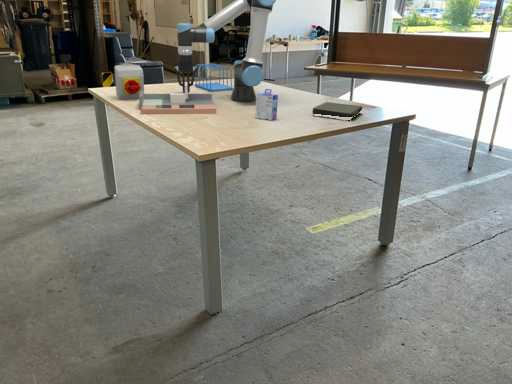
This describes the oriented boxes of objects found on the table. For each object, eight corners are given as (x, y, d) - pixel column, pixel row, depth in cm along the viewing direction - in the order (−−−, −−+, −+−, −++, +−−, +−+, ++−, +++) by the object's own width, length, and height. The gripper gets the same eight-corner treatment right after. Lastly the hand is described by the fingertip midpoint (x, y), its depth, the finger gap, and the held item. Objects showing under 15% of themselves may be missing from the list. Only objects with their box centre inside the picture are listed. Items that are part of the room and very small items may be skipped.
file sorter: (194, 86, 305) (193, 64, 299) (216, 85, 314) (216, 63, 308) (210, 92, 286) (209, 68, 280) (233, 90, 294) (233, 67, 288)
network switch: (356, 123, 216) (357, 113, 214) (310, 118, 223) (311, 108, 222) (362, 114, 237) (363, 104, 235) (320, 109, 244) (320, 100, 242)
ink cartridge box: (277, 119, 218) (278, 89, 212) (271, 121, 213) (273, 91, 208) (260, 116, 222) (261, 87, 217) (254, 118, 218) (255, 89, 212)
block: (185, 100, 244) (184, 92, 242) (185, 102, 236) (185, 94, 235) (170, 100, 242) (170, 92, 241) (170, 103, 235) (170, 94, 233)
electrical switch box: (120, 105, 248) (118, 70, 238) (116, 97, 260) (114, 63, 250) (146, 104, 254) (144, 70, 244) (141, 96, 265) (139, 63, 255)
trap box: (212, 103, 251) (211, 90, 248) (216, 113, 225) (216, 100, 223) (142, 103, 244) (141, 91, 241) (138, 114, 219) (137, 100, 216)
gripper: (172, 54, 226) (174, 99, 235) (197, 55, 228) (198, 99, 237) (172, 53, 233) (174, 97, 242) (197, 53, 235) (197, 97, 244)
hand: (186, 98), depth 239 cm, fingers closed
